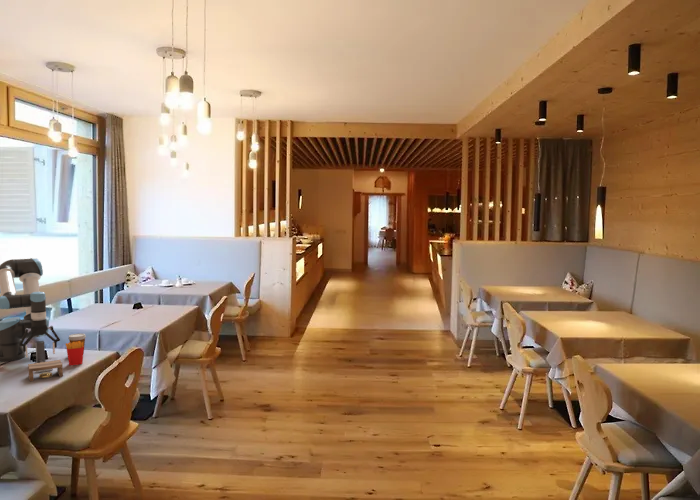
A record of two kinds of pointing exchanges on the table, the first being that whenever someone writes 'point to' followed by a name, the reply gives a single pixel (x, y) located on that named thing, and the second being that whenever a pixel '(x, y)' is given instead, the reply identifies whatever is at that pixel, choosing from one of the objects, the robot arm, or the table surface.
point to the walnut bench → (45, 367)
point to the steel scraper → (40, 354)
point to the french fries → (75, 353)
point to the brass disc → (45, 375)
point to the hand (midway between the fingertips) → (40, 355)
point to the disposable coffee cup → (77, 338)
